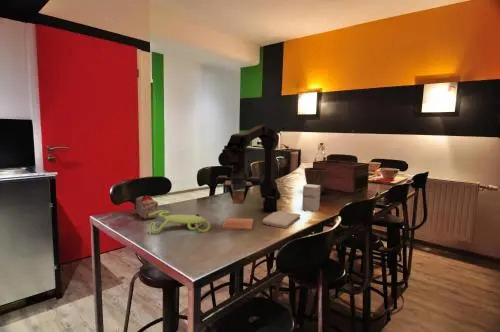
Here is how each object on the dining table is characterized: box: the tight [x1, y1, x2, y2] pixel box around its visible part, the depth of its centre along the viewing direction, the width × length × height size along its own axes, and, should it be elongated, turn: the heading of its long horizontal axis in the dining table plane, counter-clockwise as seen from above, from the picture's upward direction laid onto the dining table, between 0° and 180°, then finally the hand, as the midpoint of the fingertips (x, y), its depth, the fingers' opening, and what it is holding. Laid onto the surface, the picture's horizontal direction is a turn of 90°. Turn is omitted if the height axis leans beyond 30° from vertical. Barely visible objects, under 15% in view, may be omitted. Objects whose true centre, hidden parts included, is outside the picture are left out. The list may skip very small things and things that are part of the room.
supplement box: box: [301, 183, 321, 213], centre depth 152 cm, size 7×7×13 cm
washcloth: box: [262, 210, 301, 229], centre depth 133 cm, size 12×18×3 cm, turn 152°
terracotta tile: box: [222, 217, 254, 231], centre depth 127 cm, size 12×12×1 cm
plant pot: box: [304, 167, 329, 195], centre depth 188 cm, size 15×15×16 cm
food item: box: [135, 195, 159, 220], centre depth 137 cm, size 14×8×10 cm, turn 40°
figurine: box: [148, 209, 211, 236], centre depth 125 cm, size 18×27×6 cm
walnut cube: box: [232, 190, 245, 205], centre depth 126 cm, size 5×5×5 cm
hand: (238, 200), depth 126 cm, fingers closed on walnut cube, 5 cm apart
